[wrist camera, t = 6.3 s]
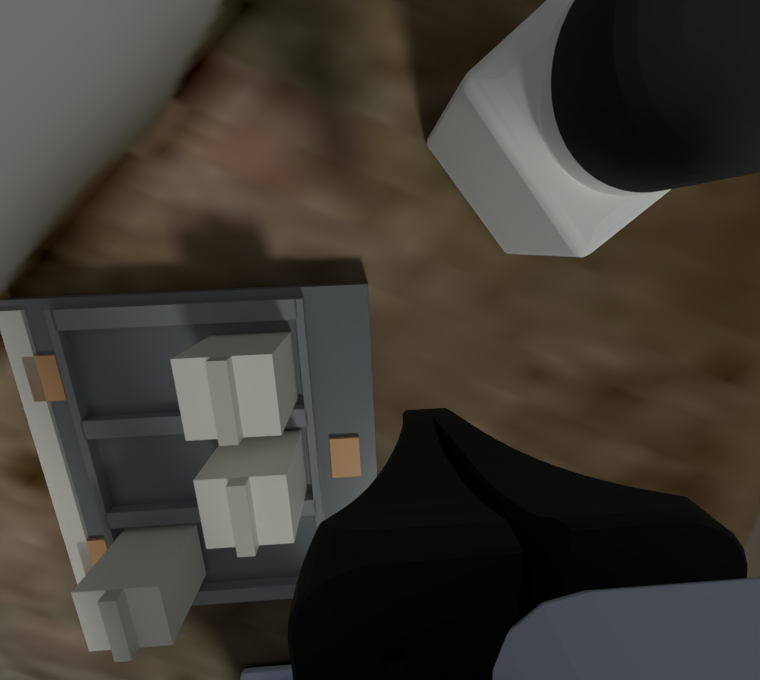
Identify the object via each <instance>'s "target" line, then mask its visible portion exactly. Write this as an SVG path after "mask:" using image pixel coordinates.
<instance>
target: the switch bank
mask: <svg viewBox="0 0 760 680" xmlns="http://www.w3.org/2000/svg"><path fill="white" fill-rule="evenodd" d="M0 331H1V335H2V338H3V341H4V344H5V348H6V351H7V354H8V358H9V361H10V364H11V367H12V371H13V374H14V377H15V381H16V384H17V387H18V390H19V394H20V397H21V400H22V404H23V407H24V410H25V413H26V417H27V420H28V423H29V427H30V430H31V433H32V436H33V440H34V443H35V446H36V450H37V453H38V456H39V459H40V463H41V466H42V469H43V473H44V476H45V479H46V482H47V486H48V489H49V492H50V496H51V499H52V502H53V505H54V509H55V512H56V515H57V519H58V522H59V525H60V528H61V532H62V535H63V538H64V542H65V545H66V548H67V551H68V555H69V558H70V561H71V565H72V568H73V571H74V574H75V578H76V581H77V584H79V583H80V581H81V580H82V579H83V578H84V577H85V575H86V574H87V573H88V572H89V571H90V569H91V568H92V567H93V566H94V565H95V564H96V562H97V561H98V560H99V559H100V558H101V556H102V555H103V554H104V553H105V552H106V551H107V549H108V548H109V547H110V546H111V545H112V543H113V542H114V541H115V540H116V539H117V538H118V536H119V535H120V534H121V533H122V532H123V530H124V529H125V528H139V527H154V526H169V525H184V524H197V529H198V534H199V539H200V545H201V550H202V555H203V560H204V565H205V570H206V576H205V578H204V580H203V582H202V584H201V587H200V589H199V591H198V593H197V595H196V597H195V599H194V601H193V603H192V605H191V606H197V605H211V604H224V603H238V602H251V601H265V600H278V599H292V598H293V596H294V591H295V587H296V583H297V580H298V576H299V573H300V570H301V567H302V564H303V561H304V558H305V556H306V553H307V551H308V548H309V546H310V544H311V541H312V539H313V537H314V535H315V532H316V530H317V528H318V526H319V524H320V523H321V522H322V521H324V520H326V519H327V518H329V517H330V516H332V515H333V514H335V513H337V512H338V511H340V510H341V509H343V508H344V507H346V506H347V505H348V504H350V503H351V502H352V501H354V500H355V499H356V498H357V497H358V496H359V495H360V494H362V493H363V492H364V491H365V490H366V489H367V488H368V487H369V485H370V484H371V483H372V482H373V481H374V480H375V478H376V477H377V466H376V445H375V424H374V403H373V381H372V360H371V339H370V318H369V297H368V282H356V283H333V284H311V285H288V286H265V287H242V288H220V289H197V290H174V291H151V292H129V293H106V294H83V295H60V296H38V297H16V298H9V299H2V300H0ZM273 332H291V337H292V346H293V356H294V366H295V376H296V385H297V395H298V398H297V401H296V403H295V405H294V408H293V410H292V412H291V415H290V417H289V419H288V422H287V424H286V426H285V429H284V431H296V430H301V434H302V444H303V454H304V464H305V473H306V483H307V490H306V494H305V498H304V503H303V507H302V511H301V516H300V520H299V524H298V529H297V533H296V537H295V542H294V543H287V544H272V545H259V547H258V550H257V553H256V556H249V557H237V553H236V547H229V548H214V549H206V545H205V540H204V535H203V529H202V524H201V519H200V514H199V508H198V503H197V498H196V492H195V487H194V482H193V480H194V479H195V477H196V476H197V474H198V473H199V472H200V470H201V469H202V468H203V466H204V465H205V463H206V462H207V461H208V459H209V458H210V457H211V455H212V454H213V452H214V451H215V450H216V448H217V447H218V446H219V444H218V439H210V440H193V441H186V440H185V435H184V429H183V424H182V419H181V413H180V408H179V403H178V398H177V392H176V387H175V382H174V377H173V371H172V366H171V361H170V359H171V358H173V357H175V356H176V355H178V354H180V353H182V352H183V351H185V350H187V349H188V348H190V347H192V346H194V345H195V344H197V343H199V342H200V341H202V340H204V339H206V338H207V337H209V336H211V335H232V334H252V333H273Z"/></svg>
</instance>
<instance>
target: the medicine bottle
mask: <svg viewBox="0 0 760 680" xmlns="http://www.w3.org/2000/svg"><path fill="white" fill-rule="evenodd" d="M427 145H428V148H429V149H430V150H431V152H432V153H433V154H434V156H435V157H436V159H437V160H438V161H439V163H440V164H441V165H442V167H443V168H444V170H445V171H446V172H447V174H448V175H449V176H450V178H451V179H452V181H453V182H454V183H455V185H456V186H457V187H458V189H459V190H460V192H461V193H462V194H463V196H464V197H465V198H466V200H467V201H468V203H469V204H470V205H471V207H472V208H473V209H474V211H475V212H476V213H477V215H478V216H479V218H480V219H481V220H482V222H483V223H484V224H485V226H486V227H487V229H488V230H489V231H490V233H491V234H492V235H493V237H494V238H495V240H496V241H497V242H498V244H499V245H500V246H501V248H502V249H503V251H504V252H505V253H507V254H520V255H542V256H564V257H584V256H587V255H589V254H591V253H592V252H593V251H594V250H596V249H597V248H598V247H599V246H601V245H602V244H603V243H604V242H606V241H607V240H608V239H609V238H611V237H612V236H613V235H614V234H616V233H617V232H618V231H619V230H621V229H622V228H623V227H624V226H626V225H627V224H628V223H629V222H631V221H632V220H633V219H634V218H636V217H637V216H638V215H640V214H641V213H642V212H643V211H645V210H646V209H647V208H648V207H650V206H651V205H652V204H653V203H655V202H656V201H657V200H658V199H660V198H661V197H662V196H663V195H665V194H666V193H667V192H668V191H670V190H671V189H674V188H679V187H685V186H690V185H695V184H701V183H706V182H711V181H717V180H722V179H727V178H732V177H738V176H743V175H748V174H754V173H757V172H760V0H546V1H545V2H544V3H543V4H542V5H541V6H540V7H539V8H537V9H536V10H535V11H534V12H533V13H532V14H531V15H530V16H529V17H528V18H526V19H525V20H524V21H523V22H522V23H521V24H520V25H519V26H518V27H517V28H516V29H514V30H513V31H512V32H511V33H510V34H509V35H508V36H507V37H506V38H505V39H504V40H502V41H501V42H500V43H499V44H498V45H497V46H496V47H495V48H494V49H493V50H492V51H490V52H489V53H488V54H487V55H486V56H485V57H484V58H483V59H482V60H481V61H480V62H478V63H477V64H476V65H475V66H474V67H473V68H472V69H471V70H470V71H469V72H468V73H466V75H465V77H464V78H463V80H462V81H461V83H460V85H459V86H458V88H457V90H456V91H455V93H454V95H453V96H452V98H451V100H450V101H449V103H448V105H447V106H446V108H445V110H444V111H443V113H442V115H441V116H440V118H439V120H438V122H437V123H436V125H435V127H434V128H433V130H432V132H431V133H430V135H429V137H428V138H427Z"/></svg>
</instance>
